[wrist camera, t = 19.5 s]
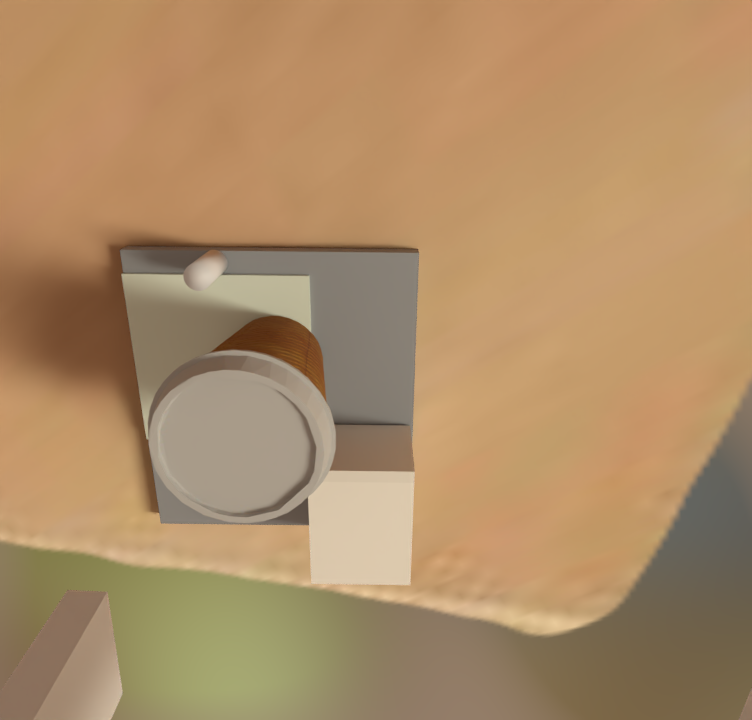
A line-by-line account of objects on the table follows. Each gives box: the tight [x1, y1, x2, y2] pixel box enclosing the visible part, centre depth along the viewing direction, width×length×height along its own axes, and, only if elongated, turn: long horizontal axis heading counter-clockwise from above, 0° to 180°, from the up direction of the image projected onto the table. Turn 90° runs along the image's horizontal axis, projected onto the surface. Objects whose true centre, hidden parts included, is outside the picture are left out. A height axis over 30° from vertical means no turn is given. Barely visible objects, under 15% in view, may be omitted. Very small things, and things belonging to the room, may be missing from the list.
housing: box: [308, 425, 415, 585], centre depth 41 cm, size 9×7×6 cm
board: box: [120, 246, 419, 525], centre depth 40 cm, size 21×19×5 cm
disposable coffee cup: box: [148, 316, 336, 523], centre depth 35 cm, size 10×10×12 cm
